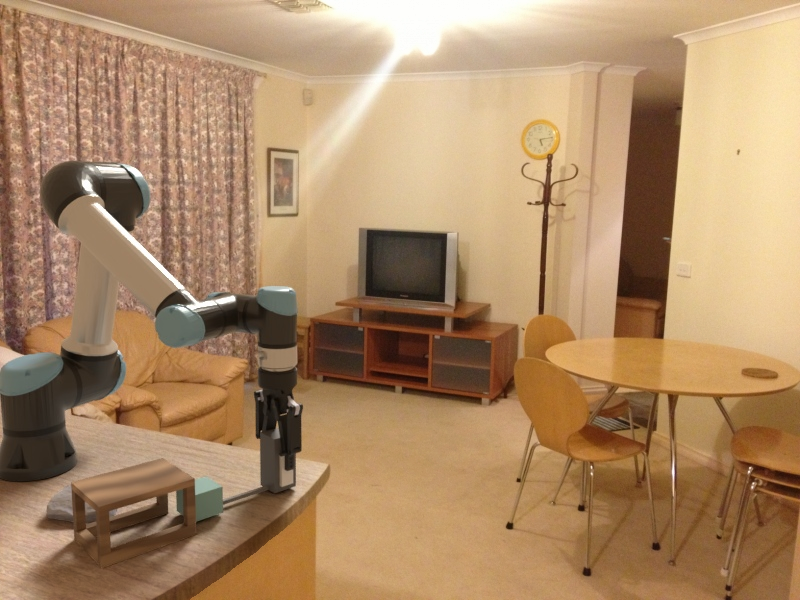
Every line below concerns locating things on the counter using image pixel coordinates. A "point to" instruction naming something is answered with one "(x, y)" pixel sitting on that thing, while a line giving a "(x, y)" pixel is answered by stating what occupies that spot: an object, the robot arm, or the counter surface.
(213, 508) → the tethered block
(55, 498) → the stone block
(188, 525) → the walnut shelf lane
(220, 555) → the counter surface
